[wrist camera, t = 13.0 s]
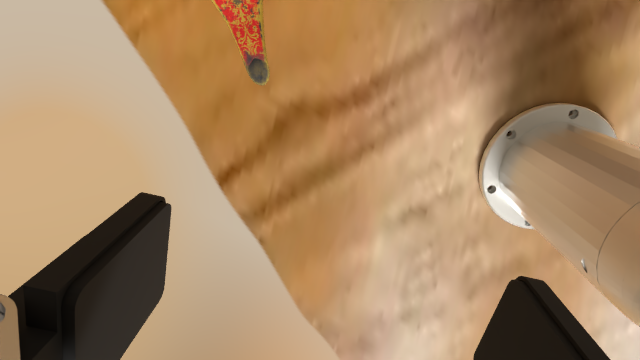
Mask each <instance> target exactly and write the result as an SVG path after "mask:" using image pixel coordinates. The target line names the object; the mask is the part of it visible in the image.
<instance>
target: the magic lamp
mask: <svg viewBox="0 0 640 360" xmlns="http://www.w3.org/2000/svg"><path fill="white" fill-rule="evenodd" d="M211 1H212V2H213V3H214V5H215V6H216V8H217V9H218V10H219V12H220V13H221V15H222V16H223V18H224V20H225V21H226V23H227V25H228V27H229V29H230V31H231V33H232V35H233V37H234V40H235V42H236V44H237V47H238V49H239V51H240V54H241V57H242V59H243V62H244V64H245V67H246V70H247V72H248V74H249V76H250V78H251V79H252V80H253V82H255V83H256V84H258V85H265V84H266V83H267V81H268V80H269V67H268V61H267V56H266V48H265V38H264V22H263V0H211Z"/></svg>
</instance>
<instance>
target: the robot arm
mask: <svg viewBox="0 0 640 360" xmlns="http://www.w3.org/2000/svg"><path fill="white" fill-rule="evenodd" d="M569 112H570V113H569ZM509 131H510V133H509V134H508V135H507V133H508V132H509ZM479 184H480V189H481V192H482V195H483V197H484V199H485V201H486V202H487V204H488V206H489V207H490V208H491V209H492V210H493V211H494V213H496V214H497V215H498V216H499V217H500V218H501V219H503V220H504V221H506V222H508V223H510V224H512V225H514V226H518V227H521V228H526V229H534V230H536V231H537V232H538V233H539V234H541V235H542V236H543V237H544V238H545V239H546V240H547V241H548V242H549V243H550V244H551V245H552V246H553V247H554V248H555V249H556V250H557V251H558V252H559V253H560V254H561V255H562V256H563V257H564V258H565V259H566V260H567V261H568V262H570V263H571V264H572V265H573V266H574V267H575V268H576V269H577V270H578V271H579V272H580V273H581V274H582V275H583V276H584V277H585V278H586V279H587V280H588V281H589V282H590V283H591V284H592V285H593V286H594V287H595V288H596V289H597V290H599V291H600V292H601V293H602V294H603V295H604V296H605V297H606V298H607V299H608V300H609V301H610V302H611V303H612V304H613V305H614V306H615V307H617V308H618V309H619V310H620V311H621V312H622V313H623V314H624V315H625V316H626V317H627V318H629V319H630V320H631V321H632V322H634V323H635V324H636V325H638V326H639V327H640V147H637V146H634V145H632V144H629V143H626V142H624V141H621V140H618V139H617V137H616V134H615V132H614V130H613V128H612V127H611V126H610V124H609V123H608V122H607V120H605V119H604V118H603V117H602V116H600V115H599V114H598V113H596V112H594V111H592V110H590V109H588V108H585V107H582V106H579V105H575V104H568V103H550V104H544V105H540V106H536V107H533V108H531V109H529V110H526V111H524V112H522V113H520V114H518V115H517V116H515V117H514V118H512V119H511V120H509V121H508V122H507V123H506V124H505V125H504V126H502V127H501V128H500V129H499V130H498V132H497V133H496V134H495V135H494V136H493V138H492V139H491V140H490V142H489V144H488V146H487V147H486V149H485V151H484V154H483V157H482V160H481V163H480V170H479ZM489 186H490V187H489ZM488 187H489V188H488ZM170 217H171V205H170V204H168V203H166V202H165V198H164V197H161V196H157V195H152V194H147V193H143V192H142V193H139V194H138V195H137V196H136V197H135V198H133V199H132V200H130V201H129V202H128V203H127V204H125V205H124V206H123V207H122V208H120V209H119V210H118V211H117V212H115V213H114V214H113V215H112V216H110V217H109V218H108V219H107V220H105V221H104V222H103V223H101V224H100V225H99V226H98V227H96V228H95V229H94V230H93V231H91V232H90V233H89V234H87V235H86V236H84V237H83V238H81V239H80V240H79V241H78V242H76V243H75V244H74V245H73V246H71V247H70V248H69V249H68V250H66V251H65V252H64V253H63V254H61V255H60V256H59V257H57V258H56V259H55V260H54V261H52V262H51V263H50V264H49V265H47V266H46V267H45V268H43V269H42V270H41V271H40V272H39V273H37V274H36V275H35V276H33V277H32V278H31V279H30V280H28V281H27V282H26V283H24V284H23V285H22V286H21V287H19V288H18V289H17V290H16V291H14V292H13V293H12V294H11V295H9V296H8V297H7V296H5V295H2V294H0V360H120V358H121V357H122V356H123V354H124V353H125V351H126V350H127V348H128V347H129V345H130V344H131V342H132V341H133V339H134V338H135V336H136V335H137V333H138V332H139V330H140V329H141V327H142V326H143V324H144V323H145V321H146V320H147V318H148V317H149V316H150V314H151V313H152V311H153V310H154V308H155V307H156V305H157V304H158V302H159V300H160V299H161V297H162V294H163V291H164V285H165V274H166V262H167V251H168V240H169V229H170ZM474 360H610V359H609V358H608V356H607V355H606V354H605V353H604V352H603V350H602V349H601V348H600V347H599V346H598V344H597V343H596V342H595V341H594V340H593V339H592V337H591V336H590V335H589V334H588V333H587V331H586V330H585V329H584V328H583V327H582V325H581V324H580V323H579V322H578V321H577V320H576V318H575V317H574V316H573V315H572V314H571V312H570V311H569V310H568V309H567V308H566V306H565V305H564V304H563V303H562V302H561V300H560V299H559V298H558V297H557V296H556V295H555V293H554V292H553V291H552V290H551V289H550V287H549V286H548V285H547V284H546V283H545V282H544V281H542V280H538V279H533V278H529V277H524V276H519V277H518V278H516V279H515V280H511V281H510V282H509V284H508V285H507V287H506V289H505V292H504V294H503V296H502V298H501V300H500V302H499V304H498V306H497V308H496V310H495V312H494V314H493V316H492V318H491V320H490V322H489V324H488V326H487V328H486V330H485V333H484V335H483V337H482V339H481V341H480V343H479V345H478V347H477V349H476V351H475V354H474Z"/></svg>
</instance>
